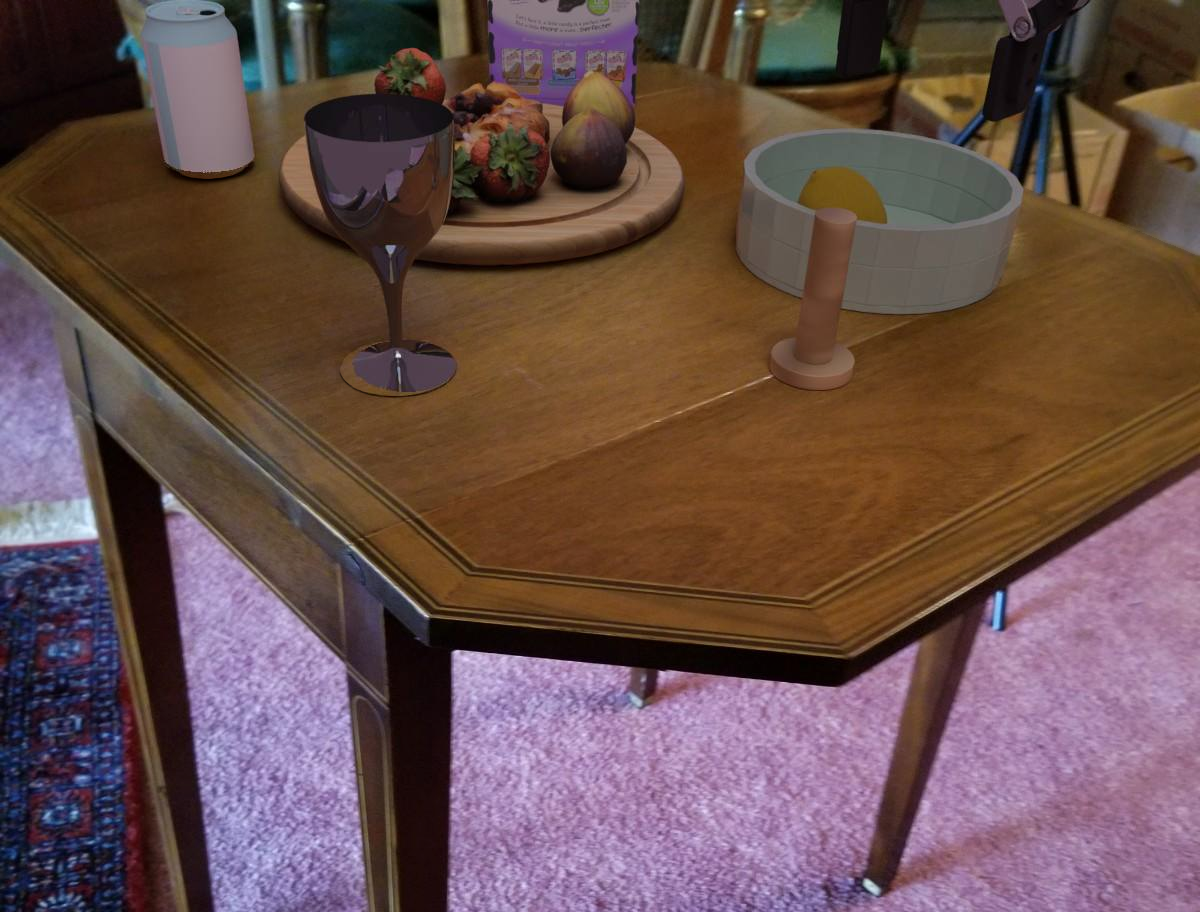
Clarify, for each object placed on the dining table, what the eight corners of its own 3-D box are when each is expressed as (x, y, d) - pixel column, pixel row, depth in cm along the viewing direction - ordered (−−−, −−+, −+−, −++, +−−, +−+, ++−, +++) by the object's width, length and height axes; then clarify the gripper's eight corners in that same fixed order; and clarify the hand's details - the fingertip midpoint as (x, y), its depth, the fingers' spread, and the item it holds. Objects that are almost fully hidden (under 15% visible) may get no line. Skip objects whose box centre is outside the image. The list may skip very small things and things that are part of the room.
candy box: (632, 92, 118) (642, -100, 107) (635, 111, 113) (645, -87, 103) (491, 87, 117) (487, -106, 107) (487, 106, 113) (483, -93, 102)
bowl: (1054, 265, 89) (1077, 185, 86) (891, 342, 79) (909, 254, 75) (848, 186, 100) (860, 112, 97) (681, 244, 90) (687, 163, 86)
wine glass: (444, 329, 78) (432, 88, 69) (479, 388, 72) (472, 134, 63) (321, 346, 76) (291, 99, 66) (347, 409, 70) (319, 148, 60)
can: (217, 146, 102) (192, -9, 95) (273, 166, 99) (252, 8, 91) (148, 168, 98) (115, 7, 90) (204, 190, 95) (175, 26, 87)
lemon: (822, 295, 86) (765, 208, 82) (853, 242, 88) (799, 154, 84) (887, 282, 82) (831, 190, 78) (918, 227, 84) (864, 134, 80)
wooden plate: (260, 137, 104) (246, 35, 99) (609, 113, 113) (613, 17, 107) (311, 295, 81) (296, 173, 76) (746, 250, 89) (759, 137, 84)
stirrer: (865, 366, 76) (896, 212, 70) (830, 399, 73) (859, 240, 67) (791, 342, 78) (815, 190, 72) (754, 373, 75) (775, 217, 69)
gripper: (1220, -291, 52) (1107, 119, 63) (894, -311, 61) (846, 46, 72) (1130, -285, 48) (1026, 151, 59) (797, -308, 58) (762, 69, 68)
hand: (927, 93), depth 65 cm, fingers open, 9 cm apart
